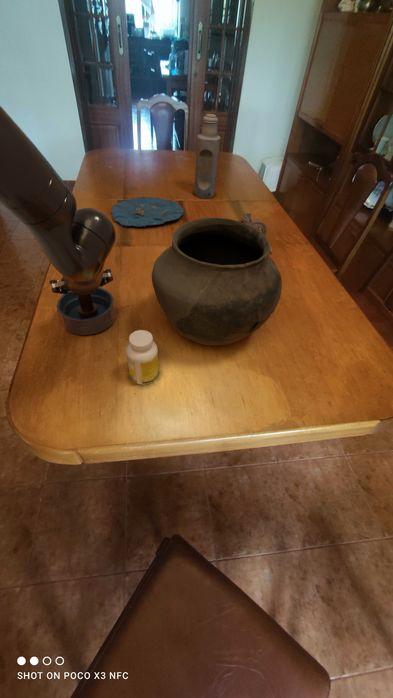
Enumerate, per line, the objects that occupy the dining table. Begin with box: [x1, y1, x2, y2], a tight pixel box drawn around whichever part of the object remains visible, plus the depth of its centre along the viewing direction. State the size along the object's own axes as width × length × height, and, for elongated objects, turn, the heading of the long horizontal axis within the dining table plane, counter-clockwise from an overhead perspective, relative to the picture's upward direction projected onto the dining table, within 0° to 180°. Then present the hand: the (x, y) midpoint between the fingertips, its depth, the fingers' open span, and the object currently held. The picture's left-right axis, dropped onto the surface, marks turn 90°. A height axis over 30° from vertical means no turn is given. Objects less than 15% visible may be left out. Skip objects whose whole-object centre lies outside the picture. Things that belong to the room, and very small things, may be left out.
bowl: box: [56, 287, 117, 336], centre depth 81 cm, size 14×14×6 cm
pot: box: [151, 217, 283, 346], centre depth 75 cm, size 29×32×25 cm
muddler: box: [78, 294, 99, 319], centre depth 78 cm, size 5×5×11 cm
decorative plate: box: [110, 196, 184, 228], centre depth 126 cm, size 30×30×5 cm
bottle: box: [193, 113, 221, 199], centre depth 135 cm, size 10×10×30 cm
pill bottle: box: [125, 329, 160, 385], centre depth 67 cm, size 6×6×12 cm
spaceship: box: [241, 212, 273, 255], centre depth 114 cm, size 8×35×8 cm
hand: (81, 288), depth 78 cm, fingers closed on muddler, 3 cm apart
